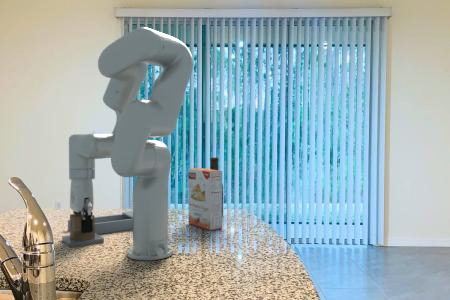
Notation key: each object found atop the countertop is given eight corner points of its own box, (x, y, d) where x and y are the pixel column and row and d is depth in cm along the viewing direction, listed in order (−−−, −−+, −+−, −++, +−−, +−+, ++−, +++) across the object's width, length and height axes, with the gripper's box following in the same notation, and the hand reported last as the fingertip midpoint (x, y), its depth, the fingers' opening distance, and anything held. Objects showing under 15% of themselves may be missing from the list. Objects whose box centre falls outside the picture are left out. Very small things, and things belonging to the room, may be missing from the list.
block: (94, 238, 119) (94, 215, 119) (74, 241, 116) (74, 217, 116) (89, 234, 124) (89, 212, 124) (70, 236, 121) (69, 214, 121)
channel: (148, 227, 140) (147, 215, 140) (75, 237, 125) (75, 224, 125) (136, 221, 149) (136, 210, 149) (67, 230, 135) (67, 218, 134)
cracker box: (187, 224, 145) (187, 168, 144) (200, 221, 148) (200, 167, 148) (208, 231, 134) (208, 170, 133) (222, 228, 137) (223, 170, 137)
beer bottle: (202, 214, 163) (202, 157, 162) (219, 212, 166) (219, 157, 166) (209, 217, 156) (209, 158, 155) (226, 216, 159) (226, 157, 159)
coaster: (103, 242, 119) (103, 238, 119) (69, 247, 113) (69, 243, 113) (94, 235, 127) (94, 231, 127) (62, 240, 122) (62, 236, 122)
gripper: (63, 172, 125) (63, 225, 125) (76, 177, 110) (77, 236, 111) (86, 171, 129) (87, 222, 130) (103, 175, 115) (103, 233, 115)
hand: (82, 229), depth 120 cm, fingers open, 9 cm apart
